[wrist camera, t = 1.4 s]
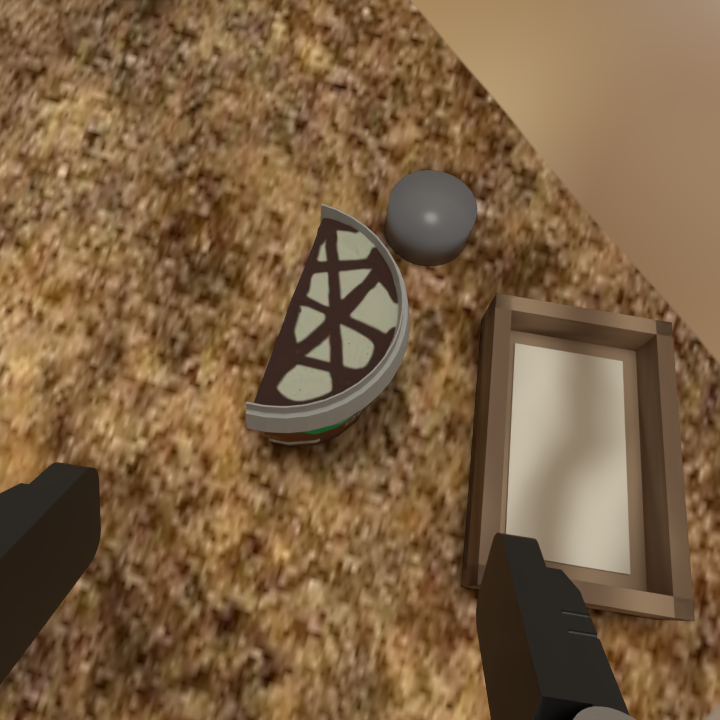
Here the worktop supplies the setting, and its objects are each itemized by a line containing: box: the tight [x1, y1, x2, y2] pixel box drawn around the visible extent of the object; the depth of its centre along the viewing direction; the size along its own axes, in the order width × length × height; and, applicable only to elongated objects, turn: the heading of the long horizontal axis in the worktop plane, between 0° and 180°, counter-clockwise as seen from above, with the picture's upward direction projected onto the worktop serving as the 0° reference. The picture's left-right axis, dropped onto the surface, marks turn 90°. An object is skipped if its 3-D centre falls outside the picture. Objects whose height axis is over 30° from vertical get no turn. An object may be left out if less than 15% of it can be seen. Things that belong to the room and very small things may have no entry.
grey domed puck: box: [385, 170, 477, 266], centre depth 40 cm, size 6×6×3 cm
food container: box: [246, 204, 410, 447], centre depth 31 cm, size 12×6×10 cm, turn 164°
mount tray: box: [461, 293, 695, 621], centre depth 33 cm, size 11×17×4 cm, turn 171°
